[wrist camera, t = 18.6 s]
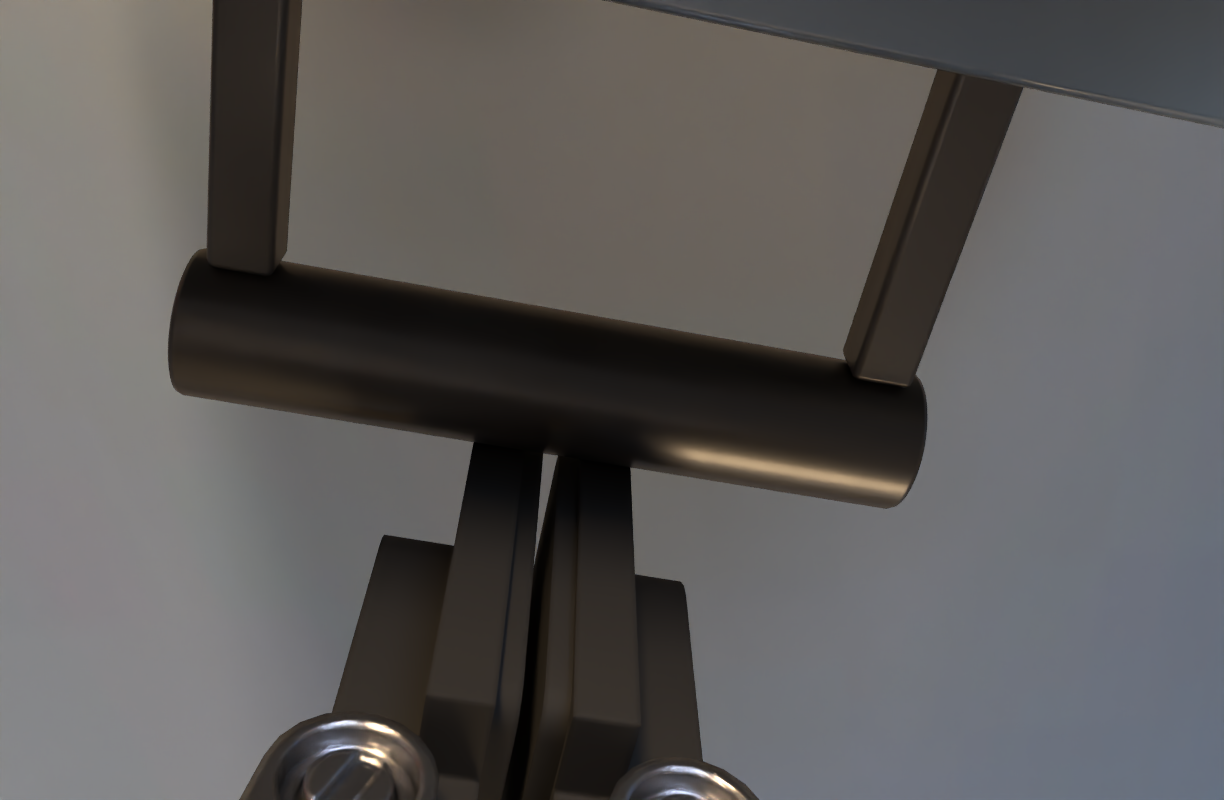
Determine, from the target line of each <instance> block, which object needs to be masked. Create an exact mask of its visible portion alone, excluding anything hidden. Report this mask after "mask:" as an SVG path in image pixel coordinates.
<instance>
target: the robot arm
mask: <svg viewBox="0 0 1224 800" xmlns="http://www.w3.org/2000/svg"><path fill="white" fill-rule="evenodd" d="M542 461H543V453H538V452H532V451H526V450H520V449H514V448H508V447H501V446H495V445H489V444H483V443H477V442H474V443H473V449H472V454H471V459H470V465H469V470H468V475H467V481H466V486H465V491H464V496H463V502H462V507H461V512H460V518H459V523H458V528H457V533H456V539H455V544H454V546H452V545H446V544H439V543H433V542H427V541H420V540H414V539H408V538H401V537H395V536H389V535H384V536H383V537H382V540H381V543H380V546H379V549H378V553H377V556H376V560H375V563H374V567H373V570H372V574H371V577H370V581H369V584H368V588H367V591H366V595H365V598H364V602H363V605H362V609H361V612H360V616H359V619H358V623H357V626H356V630H355V633H354V637H353V640H352V644H351V647H350V651H349V654H348V658H347V661H346V665H345V668H344V672H343V675H342V679H341V682H340V686H339V689H338V693H337V696H336V700H335V704H334V707H333V711H332V713H326V714H323V715H320V716H317V717H314V718H311V719H308V720H305V721H302V722H300V723H298V724H297V725H295V726H294V727H292V728H291V729H289V730H288V731H286V732H285V733H283V734H282V735H280V736H279V737H278V738H277V740H276V741H275V742H274V743H273V745H272V746H271V747H270V748H269V750H268V751H267V752H266V753H265V755H264V756H263V758H262V760H261V761H260V763H259V765H258V767H257V769H256V770H255V772H254V774H253V776H252V778H251V779H250V781H249V783H248V785H247V787H246V789H245V790H244V792H243V794H242V796H241V798H240V799H239V800H759V799H758V798H757V797H756V796H755V794H754V793H753V792H752V791H751V790H750V789H749V788H748V787H747V786H746V785H745V784H744V783H743V782H741V781H740V780H738V779H737V778H735V777H734V776H732V775H731V774H729V773H728V772H727V771H725V770H723V769H721V768H718V767H716V766H713V765H711V764H708V763H706V762H703V759H702V749H701V739H700V730H699V720H698V710H697V700H696V690H695V681H694V671H693V661H692V651H691V641H690V631H689V622H688V612H687V602H686V594H685V589H684V585H683V584H682V583H681V582H679V581H673V580H667V579H661V578H654V577H648V576H642V575H635V567H634V543H633V519H632V495H631V471H630V467H625V466H619V465H612V464H606V463H600V462H594V461H588V460H582V459H575V458H569V457H563V456H558V458H557V461H556V466H555V470H554V475H553V479H552V484H551V489H550V494H549V498H548V503H547V508H546V512H545V517H544V522H543V526H542V531H541V536H540V540H539V545H538V550H537V554H536V559H535V564H534V556H535V544H536V532H537V520H538V508H539V497H540V485H541V473H542ZM533 567H534V568H533Z"/></svg>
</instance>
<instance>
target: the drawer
mask: <svg viewBox="0 0 1224 800" xmlns="http://www.w3.org/2000/svg"><path fill="white" fill-rule="evenodd" d="M604 1H609V2H613V3H618V4H623V5H628V6H633V7H638V8H643V9H647V10H652V11H657V12H662V13H667V14H672V15H676V16H681V17H686V18H691V19H696V20H701V21H705V22H710V23H715V24H720V25H725V26H730V27H735V28H739V29H744V30H749V31H754V32H759V33H764V34H768V35H773V36H778V37H783V38H788V39H793V40H797V41H802V42H807V43H812V44H817V45H822V46H827V47H831V48H836V49H841V50H846V51H851V52H856V53H860V54H865V55H870V56H875V57H880V58H885V59H889V60H894V61H899V62H904V63H909V64H914V65H919V66H923V67H928V68H933V69H937V72H936V75H935V78H934V81H933V84H932V87H931V90H930V93H929V96H928V99H927V102H926V105H925V108H924V111H923V114H922V117H921V120H920V123H919V126H918V129H917V132H916V135H915V138H914V141H913V144H912V147H911V150H910V153H909V156H908V159H907V162H906V164H905V167H904V170H903V173H902V176H901V179H900V182H899V185H898V188H897V191H896V194H895V197H894V200H893V203H892V206H891V209H890V212H889V215H888V218H887V221H886V224H885V227H884V230H883V233H882V236H881V239H880V242H879V245H878V248H877V251H876V254H875V256H874V259H873V262H872V265H871V268H870V271H869V274H868V277H867V280H866V283H865V286H864V289H863V292H862V295H861V298H860V301H859V304H858V307H857V310H856V313H855V316H854V319H853V322H852V325H851V328H850V331H849V334H848V337H847V340H846V343H845V346H844V349H843V352H844V356H845V359H846V360H843V359H837V358H831V357H825V356H820V355H814V354H808V353H803V352H797V351H791V350H786V349H780V348H774V347H769V346H763V345H757V344H752V343H746V342H740V341H735V340H729V339H723V338H718V337H712V336H706V335H701V334H695V333H689V332H683V331H678V330H672V329H666V328H661V327H655V326H649V325H644V324H638V323H632V322H627V321H621V320H615V319H610V318H604V317H598V316H593V315H587V314H581V313H576V312H570V311H564V310H559V309H553V308H547V307H542V306H536V305H530V304H524V303H519V302H513V301H507V300H502V299H496V298H490V297H485V296H479V295H473V294H468V293H462V292H456V291H451V290H445V289H439V288H434V287H428V286H422V285H417V284H411V283H405V282H400V281H394V280H388V279H382V278H377V277H371V276H365V275H360V274H354V273H348V272H343V271H337V270H331V269H326V268H320V267H314V266H309V265H303V264H297V263H292V262H286V261H281V260H282V258H283V257H284V255H285V253H286V251H287V240H288V224H289V207H290V191H291V175H292V159H293V143H294V126H295V110H296V94H297V78H298V61H299V45H300V29H301V13H302V0H213V11H212V52H211V94H210V135H209V176H208V218H207V248H204V249H200V250H198V251H197V252H196V253H195V254H194V255H193V256H192V258H191V259H190V261H189V263H188V264H187V266H186V268H185V270H184V273H183V275H182V277H181V280H180V283H179V286H178V289H177V293H176V296H175V300H174V304H173V309H172V314H171V321H170V328H169V338H168V365H169V372H170V378H171V382H172V385H173V387H174V388H175V390H176V391H177V392H179V393H181V394H182V395H187V396H193V397H199V398H205V399H211V400H218V401H224V402H230V403H236V404H242V405H248V406H255V407H261V408H267V409H273V410H279V411H285V412H292V413H298V414H304V415H310V416H316V417H322V418H329V419H335V420H341V421H347V422H353V423H359V424H366V425H372V426H378V427H384V428H390V429H396V430H403V431H409V432H415V433H421V434H427V435H433V436H440V437H446V438H452V439H458V440H464V441H471V442H477V443H483V444H489V445H495V446H501V447H508V448H514V449H520V450H526V451H532V452H538V453H545V454H551V455H557V456H563V457H569V458H575V459H582V460H588V461H594V462H600V463H606V464H612V465H619V466H625V467H631V468H637V469H643V470H649V471H656V472H662V473H668V474H674V475H680V476H686V477H693V478H699V479H705V480H711V481H717V482H723V483H730V484H736V485H742V486H748V487H754V488H761V489H767V490H773V491H779V492H785V493H791V494H798V495H804V496H810V497H816V498H822V499H828V500H835V501H841V502H847V503H853V504H859V505H865V506H872V507H878V508H884V509H887V508H891V507H895V506H897V505H898V504H900V503H901V502H902V501H903V500H904V498H905V497H906V496H907V494H908V493H909V491H910V489H911V487H912V485H913V483H914V481H915V478H916V476H917V473H918V470H919V467H920V464H921V460H922V456H923V452H924V447H925V440H926V432H927V401H926V395H925V391H924V387H923V385H922V382H921V381H920V379H919V378H918V377H917V376H916V375H915V374H916V371H917V369H918V366H919V363H920V361H921V358H922V355H923V353H924V350H925V347H926V345H927V342H928V339H929V337H930V334H931V331H932V329H933V326H934V323H935V321H936V318H937V315H938V313H939V310H940V307H941V305H942V302H943V300H944V297H945V294H946V292H947V289H948V286H949V284H950V281H951V278H952V276H953V273H954V270H955V268H956V265H957V262H958V260H959V257H960V254H961V252H962V249H963V246H964V244H965V241H966V238H967V236H968V233H969V231H970V228H971V225H972V223H973V220H974V217H975V215H976V212H977V209H978V207H979V204H980V201H981V199H982V196H983V193H984V191H985V188H986V185H987V183H988V180H989V177H990V175H991V172H992V169H993V167H994V164H995V162H996V159H997V156H998V154H999V151H1000V148H1001V146H1002V143H1003V140H1004V138H1005V135H1006V132H1007V130H1008V127H1009V124H1010V122H1011V119H1012V116H1013V114H1014V111H1015V108H1016V106H1017V103H1018V100H1019V98H1020V95H1021V93H1022V90H1023V87H1025V88H1030V89H1035V90H1040V91H1044V92H1049V93H1054V94H1059V95H1064V96H1069V97H1073V98H1078V99H1083V100H1088V101H1093V102H1098V103H1102V104H1107V105H1112V106H1117V107H1122V108H1127V109H1132V110H1136V111H1141V112H1146V113H1151V114H1156V115H1161V116H1165V117H1170V118H1175V119H1180V120H1185V121H1190V122H1194V123H1199V124H1204V125H1209V126H1214V127H1219V128H1224V0H604Z"/></svg>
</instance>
